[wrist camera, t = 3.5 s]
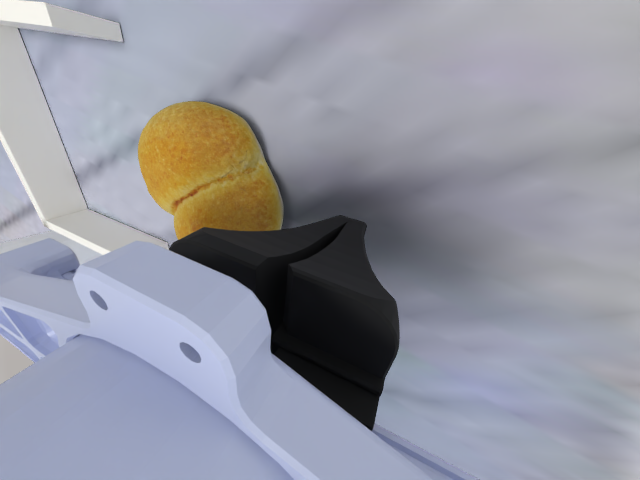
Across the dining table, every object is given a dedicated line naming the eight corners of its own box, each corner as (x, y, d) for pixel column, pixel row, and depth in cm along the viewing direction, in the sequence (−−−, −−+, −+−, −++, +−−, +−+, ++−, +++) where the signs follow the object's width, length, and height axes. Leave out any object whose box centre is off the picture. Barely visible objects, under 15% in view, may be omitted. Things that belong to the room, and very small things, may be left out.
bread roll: (234, 70, 12) (158, 54, 8) (310, 233, 14) (272, 270, 11) (152, 142, 16) (80, 149, 13) (221, 258, 18) (176, 290, 15)
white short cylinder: (102, 280, 29) (20, 322, 23) (61, 230, 27) (-39, 262, 21) (123, 267, 25) (32, 314, 19) (77, 209, 23) (-38, 240, 18)
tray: (169, 250, 20) (133, 269, 18) (85, 214, 23) (44, 226, 21) (119, 23, 13) (44, 2, 10) (4, 11, 16) (-76, -8, 13)
